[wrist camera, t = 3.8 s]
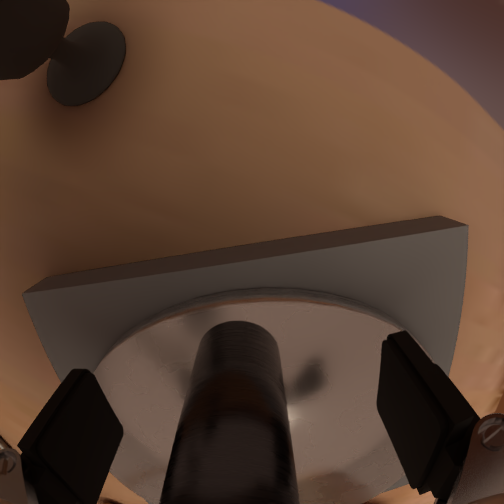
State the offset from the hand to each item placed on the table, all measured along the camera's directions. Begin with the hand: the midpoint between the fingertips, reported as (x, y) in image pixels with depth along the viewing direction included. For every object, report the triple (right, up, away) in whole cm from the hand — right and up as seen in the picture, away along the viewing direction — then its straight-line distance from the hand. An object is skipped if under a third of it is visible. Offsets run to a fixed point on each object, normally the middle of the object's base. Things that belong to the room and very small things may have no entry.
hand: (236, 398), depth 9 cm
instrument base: (+1, -6, +9) cm, 10 cm away
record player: (+1, -7, +6) cm, 9 cm away
